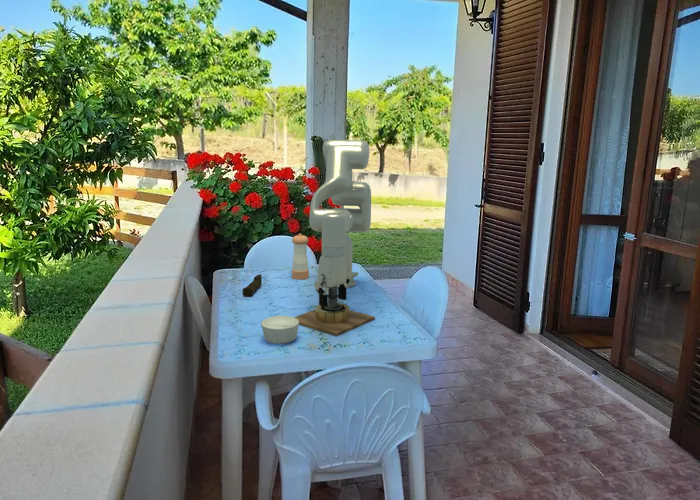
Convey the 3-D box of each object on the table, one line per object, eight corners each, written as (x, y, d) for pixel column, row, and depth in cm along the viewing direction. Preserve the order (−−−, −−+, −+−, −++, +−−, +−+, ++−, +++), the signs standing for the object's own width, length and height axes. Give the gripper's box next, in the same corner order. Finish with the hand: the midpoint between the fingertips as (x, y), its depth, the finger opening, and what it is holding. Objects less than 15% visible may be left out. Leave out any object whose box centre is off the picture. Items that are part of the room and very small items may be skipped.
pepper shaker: (299, 274, 229) (299, 231, 225) (312, 277, 225) (312, 233, 221) (288, 277, 223) (287, 234, 219) (301, 280, 219) (300, 236, 215)
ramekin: (266, 348, 148) (266, 330, 147) (257, 334, 158) (257, 318, 157) (304, 342, 152) (304, 325, 151) (292, 329, 162) (292, 313, 161)
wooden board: (329, 307, 185) (329, 304, 184) (374, 319, 173) (375, 316, 172) (289, 321, 169) (289, 318, 169) (336, 336, 157) (336, 333, 157)
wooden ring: (330, 310, 178) (330, 300, 177) (356, 317, 172) (356, 307, 171) (309, 318, 170) (309, 308, 169) (334, 326, 163) (335, 315, 162)
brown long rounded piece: (252, 298, 195) (252, 286, 194) (242, 297, 195) (242, 285, 194) (267, 284, 213) (267, 273, 212) (257, 284, 214) (257, 273, 213)
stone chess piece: (323, 314, 174) (323, 280, 171) (341, 314, 174) (341, 279, 172) (324, 320, 168) (324, 284, 166) (342, 319, 168) (342, 284, 166)
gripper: (341, 245, 175) (340, 294, 179) (306, 253, 162) (306, 306, 165) (359, 248, 170) (358, 298, 174) (324, 257, 157) (324, 311, 161)
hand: (332, 302), depth 170 cm, fingers open, 9 cm apart
